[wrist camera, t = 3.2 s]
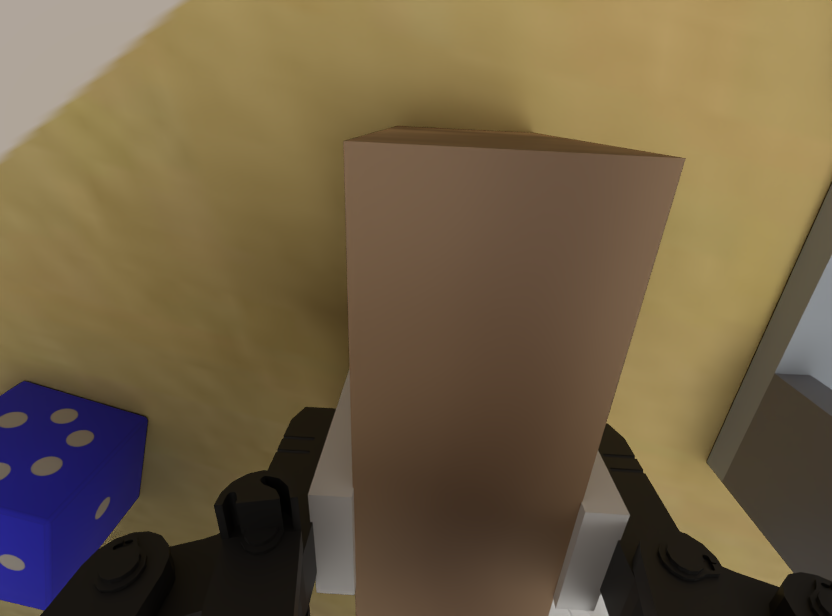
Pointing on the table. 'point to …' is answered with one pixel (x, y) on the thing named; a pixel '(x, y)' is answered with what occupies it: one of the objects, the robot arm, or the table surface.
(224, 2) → the table surface
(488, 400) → the brown wooden block
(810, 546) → the end cap frame
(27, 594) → the die
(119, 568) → the robot arm
